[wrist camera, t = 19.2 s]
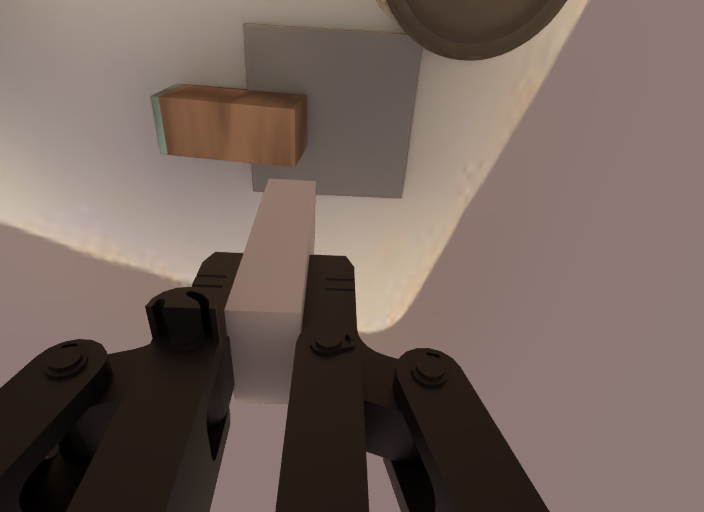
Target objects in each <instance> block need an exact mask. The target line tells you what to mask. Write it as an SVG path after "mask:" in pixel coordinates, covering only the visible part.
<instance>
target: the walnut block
mask: <svg viewBox="0 0 704 512" xmlns="http://www.w3.org/2000/svg"><path fill="white" fill-rule="evenodd" d="M151 102H152V108H153V113H154V119H155V125H156V131H157V136H158V142H159V148H160V154H167V155H177V156H187V157H197V158H207V159H217V160H227V161H237V162H247V163H257V164H267V165H277V166H287V167H295V166H296V165H297V163H298V161H299V160H300V158H301V156H302V155H303V153H304V151H305V150H306V95H295V94H284V93H273V92H262V91H251V90H240V89H229V88H218V87H207V86H195V85H184V84H175V85H173V86H171V87H169V88H167V89H165V90H163V91H160V92H158V93H156V94H154V95H152V96H151Z"/></svg>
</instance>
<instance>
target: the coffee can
mask: <svg viewBox="0 0 704 512" xmlns="http://www.w3.org/2000/svg"><path fill="white" fill-rule="evenodd" d="M376 1H377V2H378V4H379V5H380V6H381V8H382V9H383V10H384V11H385V12H386V13H387V14H388V15H389V16H390V17H391V18H393V19H394V20H395V21H397V22H398V23H399V24H400V26H401V27H402V28H403V29H404V31H405V32H406V33H407V34H408V35H409V36H410V37H411V38H412V39H413V40H414V41H415V42H417V43H418V44H420V45H421V46H422V47H424V48H425V49H427V50H429V51H431V52H433V53H435V54H437V55H440V56H443V57H447V58H451V59H457V60H483V59H488V58H492V57H496V56H499V55H502V54H504V53H507V52H509V51H511V50H513V49H515V48H517V47H519V46H520V45H522V44H524V43H525V42H527V41H528V40H530V39H531V38H532V37H534V36H535V35H536V34H538V33H539V32H540V31H541V30H542V29H543V28H544V27H545V26H547V25H548V24H549V23H550V22H551V20H552V19H553V18H554V17H555V16H556V15H557V14H558V12H559V11H560V10H561V8H562V7H563V6H564V4H565V3H566V1H567V0H376Z"/></svg>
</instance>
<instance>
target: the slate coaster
mask: <svg viewBox="0 0 704 512" xmlns="http://www.w3.org/2000/svg"><path fill="white" fill-rule="evenodd" d="M243 27H244V44H245V61H246V78H247V90H251V91H262V92H273V93H284V94H295V95H306V150H305V151H304V153H303V155H302V156H301V158H300V160H299V161H298V163H297V165H296V166H295V167H287V166H277V165H267V164H257V163H252V179H253V191H257V192H264V191H265V188H266V185H267V182H268V179H286V180H306V181H316V194H318V195H339V196H359V197H380V198H400V199H401V198H402V191H403V183H404V176H405V168H406V161H407V153H408V146H409V139H410V131H411V124H412V116H413V109H414V102H415V94H416V87H417V79H418V72H419V65H420V57H421V50H422V46H421V45H420V44H418V43H417V42H415V41H414V40H413V39H412V38H411V37H410V36H409V35H408V34H396V33H381V32H367V31H352V30H338V29H323V28H308V27H294V26H279V25H265V24H250V23H245V24H243Z"/></svg>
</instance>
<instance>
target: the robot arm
mask: <svg viewBox="0 0 704 512" xmlns="http://www.w3.org/2000/svg"><path fill="white" fill-rule="evenodd" d="M315 194H316V181H306V180H286V179H268V182H267V185H266V188H265V191H264V194H263V197H262V200H261V203H260V206H259V209H258V212H257V215H256V218H255V221H254V224H253V227H252V230H251V233H250V236H249V239H248V242H247V245H246V248H245V251H244V253H227V252H215V253H213V254H212V255H211V256H210V257H208V258H207V259H206V260H205V261H204V262H202V265H201V267H200V269H199V271H198V273H197V277H195V279H194V282H193V284H192V287H183V288H175V289H172V290H168V291H165V292H162V293H161V294H159V295H157V296H156V297H154V298H152V299H151V300H150V302H149V303H148V304H147V305H146V306H145V308H146V312H147V317H148V321H149V325H150V329H151V334H152V337H153V339H152V341H151V343H150V344H149V345H146V346H144V347H140V348H137V349H133V350H128V351H123V352H117V353H113V354H107V351H106V350H105V348H104V347H103V346H102V344H100V343H98V342H95V341H93V340H85V339H77V340H71V341H66V342H63V343H60V344H57V345H55V346H52V347H50V348H48V349H47V350H45V351H44V352H42V353H41V354H39V355H38V356H36V357H35V358H34V359H33V360H32V361H31V362H29V363H28V364H27V365H26V366H25V367H24V368H23V369H22V370H20V371H19V372H18V373H17V374H16V375H15V376H14V377H12V378H11V379H10V380H9V381H8V382H7V383H6V384H4V385H3V387H1V388H0V512H210V507H211V503H212V499H213V495H214V490H215V486H216V482H217V478H218V473H219V469H220V465H221V461H222V456H223V452H224V448H225V444H226V440H227V436H228V431H229V427H230V410H229V404H230V400H231V396H232V392H233V390H234V399H235V403H258V404H262V403H263V404H288V412H287V420H286V429H285V437H284V445H283V453H282V462H281V470H280V478H279V486H278V495H277V503H276V511H275V512H369V499H368V480H367V461H366V452H369V453H372V454H375V455H378V456H381V457H383V461H384V464H385V467H386V469H387V472H388V475H389V478H390V481H391V484H392V487H393V490H394V493H395V495H396V498H397V501H398V504H399V507H400V510H401V512H550V511H549V510H548V508H547V507H546V505H545V504H544V502H543V500H542V499H541V497H540V495H539V494H538V492H537V490H536V489H535V487H534V486H533V484H532V482H531V481H530V479H529V478H528V476H527V474H526V473H525V471H524V469H523V468H522V466H521V464H520V463H519V461H518V460H517V458H516V456H515V455H514V453H513V452H512V450H511V448H510V447H509V445H508V443H507V442H506V440H505V439H504V437H503V435H502V434H501V432H500V430H499V429H498V427H497V425H496V424H495V422H494V421H493V419H492V417H491V416H490V414H489V413H488V411H487V409H486V408H485V406H484V404H483V403H482V401H481V399H480V398H479V396H478V395H477V393H476V391H475V390H474V388H473V387H472V385H471V383H470V382H469V380H468V378H467V377H466V375H465V374H464V372H463V370H462V369H461V367H460V366H459V365H458V364H457V363H456V361H454V359H453V358H451V357H450V356H448V355H446V354H445V353H443V352H441V351H437V350H433V349H430V348H416V349H413V350H410V351H407V352H405V353H404V354H403V355H402V356H401V357H400V358H399V359H396V358H392V357H389V356H386V355H383V354H380V353H378V352H375V351H374V350H372V349H370V348H369V347H367V346H366V344H364V343H363V342H362V340H361V339H360V337H359V335H358V331H357V318H356V297H355V276H354V266H353V265H352V264H351V262H350V261H349V260H348V258H347V257H346V256H331V255H314V239H315Z"/></svg>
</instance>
